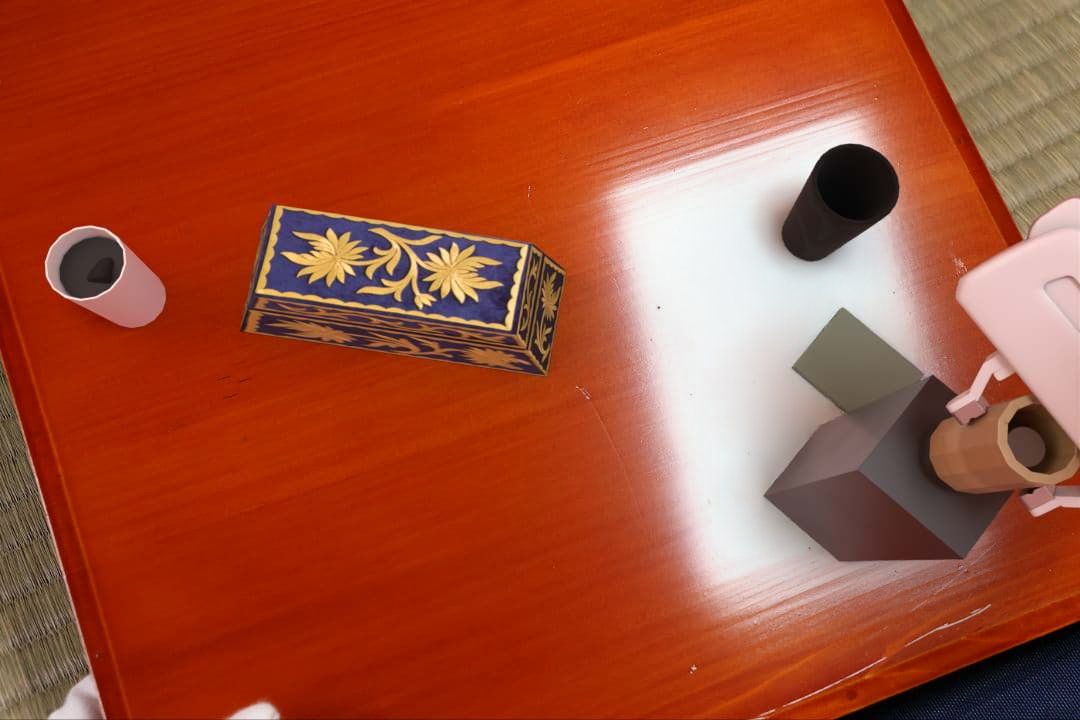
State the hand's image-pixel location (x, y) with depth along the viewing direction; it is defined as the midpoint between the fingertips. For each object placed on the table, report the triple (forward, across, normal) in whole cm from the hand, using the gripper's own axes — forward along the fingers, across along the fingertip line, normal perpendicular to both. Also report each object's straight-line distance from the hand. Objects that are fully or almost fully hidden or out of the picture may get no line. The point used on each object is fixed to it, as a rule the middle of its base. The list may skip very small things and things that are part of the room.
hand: (990, 459), depth 53 cm
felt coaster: (+13, -8, +27) cm, 31 cm away
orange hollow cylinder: (+2, 0, +4) cm, 5 cm away
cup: (+9, -21, +31) cm, 38 cm away
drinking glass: (+50, -52, -10) cm, 73 cm away
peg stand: (+19, 0, +20) cm, 28 cm away
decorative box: (+35, -38, +4) cm, 52 cm away
